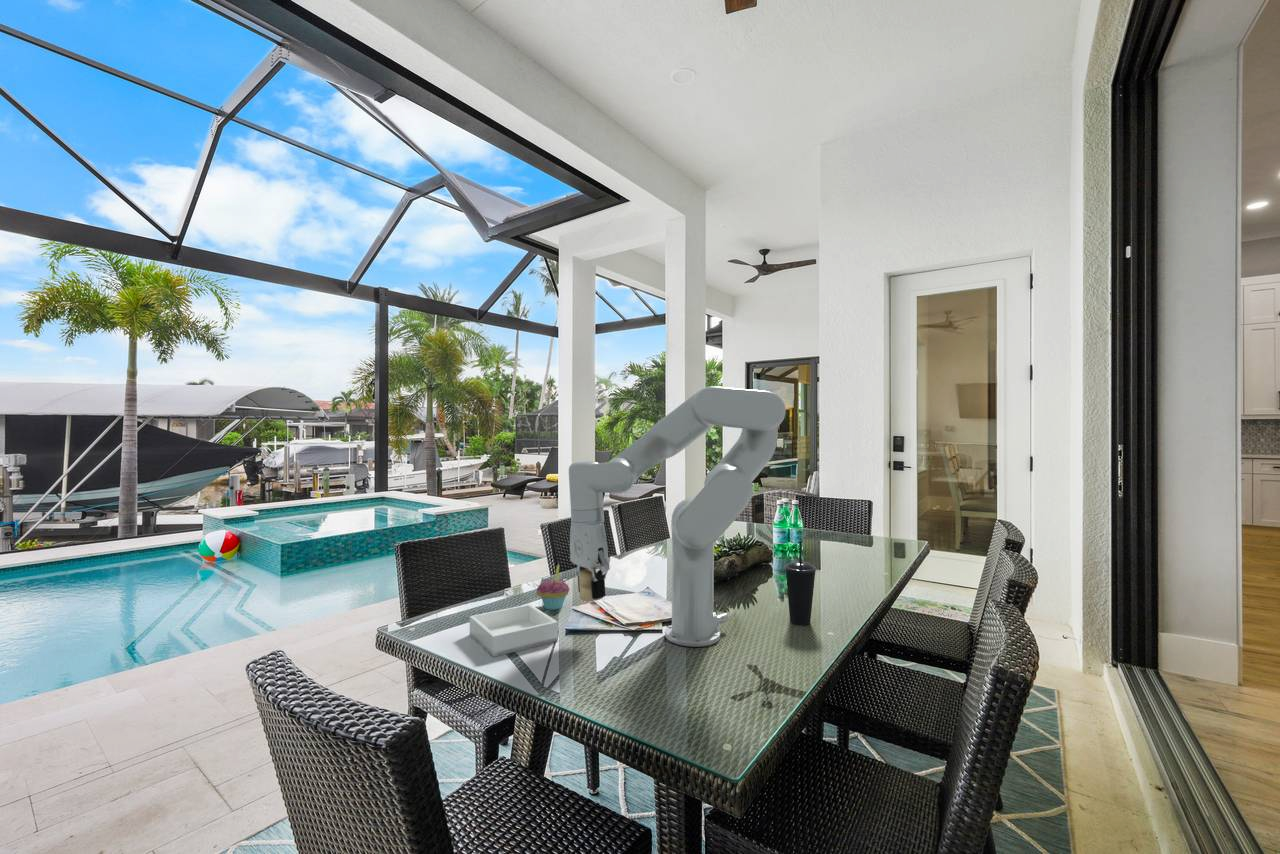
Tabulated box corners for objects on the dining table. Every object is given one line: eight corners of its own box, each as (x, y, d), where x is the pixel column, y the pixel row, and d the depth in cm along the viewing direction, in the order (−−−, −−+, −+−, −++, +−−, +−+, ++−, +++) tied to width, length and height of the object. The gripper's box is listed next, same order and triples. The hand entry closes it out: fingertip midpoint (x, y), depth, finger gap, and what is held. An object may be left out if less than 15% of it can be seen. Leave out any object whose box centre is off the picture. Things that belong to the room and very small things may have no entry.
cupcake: (575, 605, 150) (575, 560, 150) (554, 614, 143) (554, 567, 143) (551, 599, 154) (551, 556, 154) (529, 608, 147) (529, 563, 147)
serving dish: (529, 621, 138) (529, 603, 138) (557, 640, 126) (557, 621, 125) (469, 634, 129) (469, 616, 129) (493, 657, 117) (493, 636, 117)
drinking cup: (782, 624, 136) (782, 542, 136) (786, 614, 143) (786, 536, 143) (814, 629, 133) (815, 545, 133) (817, 619, 140) (818, 539, 140)
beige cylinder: (596, 592, 132) (594, 566, 132) (608, 597, 127) (606, 570, 127) (575, 597, 129) (574, 571, 129) (587, 602, 124) (586, 575, 124)
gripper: (555, 514, 133) (560, 590, 133) (592, 522, 119) (597, 607, 119) (583, 509, 137) (587, 583, 137) (621, 517, 123) (626, 599, 123)
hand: (591, 593), depth 128 cm, fingers closed on beige cylinder, 5 cm apart
